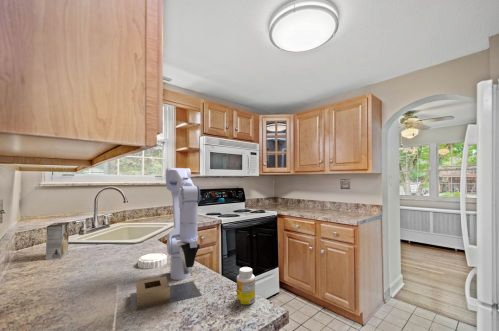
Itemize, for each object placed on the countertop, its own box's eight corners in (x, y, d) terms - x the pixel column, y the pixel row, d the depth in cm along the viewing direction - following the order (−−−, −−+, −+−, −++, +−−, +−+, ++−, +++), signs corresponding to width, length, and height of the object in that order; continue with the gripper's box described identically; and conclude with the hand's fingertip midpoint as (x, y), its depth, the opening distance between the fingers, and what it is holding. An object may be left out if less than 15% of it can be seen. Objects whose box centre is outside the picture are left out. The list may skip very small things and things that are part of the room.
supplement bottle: (237, 299, 74) (237, 265, 74) (255, 299, 74) (254, 265, 74) (236, 308, 68) (236, 272, 69) (255, 308, 68) (255, 272, 69)
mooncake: (138, 262, 108) (138, 254, 109) (165, 258, 113) (165, 250, 113) (137, 271, 97) (137, 262, 98) (167, 266, 102) (168, 258, 102)
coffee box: (52, 254, 119) (54, 222, 120) (68, 253, 121) (69, 221, 122) (45, 260, 111) (46, 225, 112) (61, 258, 113) (63, 224, 114)
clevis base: (130, 296, 76) (131, 280, 76) (192, 283, 85) (192, 269, 85) (130, 315, 65) (131, 297, 65) (202, 298, 74) (202, 282, 74)
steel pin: (180, 271, 77) (176, 241, 77) (193, 267, 79) (188, 238, 79) (183, 276, 74) (177, 244, 74) (195, 271, 75) (190, 241, 75)
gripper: (172, 220, 82) (171, 259, 81) (180, 227, 69) (179, 275, 68) (192, 218, 85) (192, 256, 84) (204, 225, 72) (203, 270, 71)
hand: (188, 264), depth 77 cm, fingers closed on steel pin, 4 cm apart
